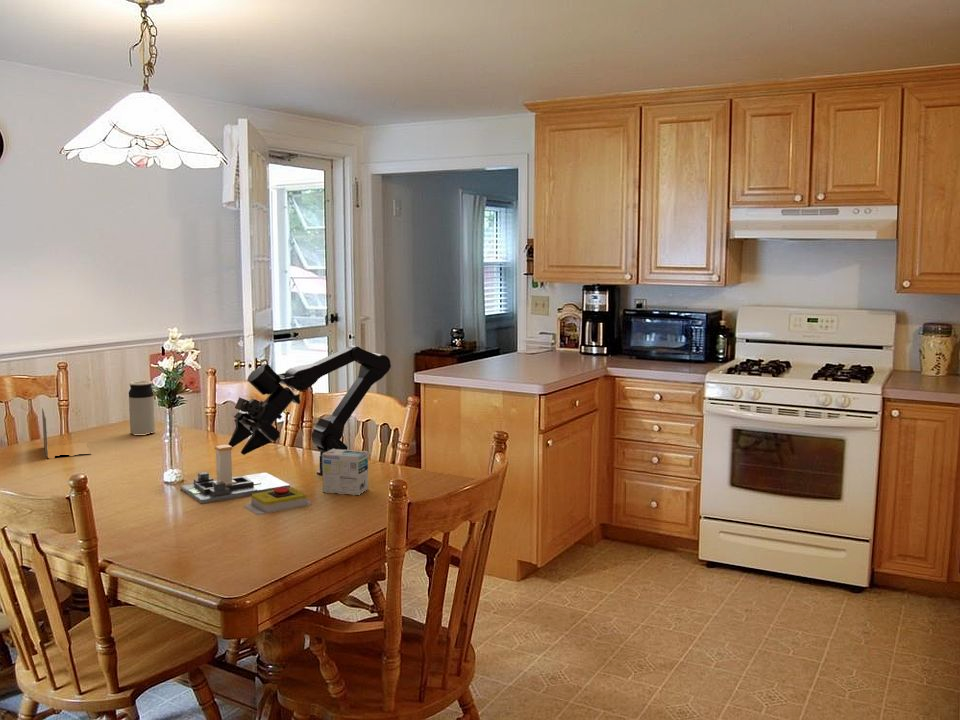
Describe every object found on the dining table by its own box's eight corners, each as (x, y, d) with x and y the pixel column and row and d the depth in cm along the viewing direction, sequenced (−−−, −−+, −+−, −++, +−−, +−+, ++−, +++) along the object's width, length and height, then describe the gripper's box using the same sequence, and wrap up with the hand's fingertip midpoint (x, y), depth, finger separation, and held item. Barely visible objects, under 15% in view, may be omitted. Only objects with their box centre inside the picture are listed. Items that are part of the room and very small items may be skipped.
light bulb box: (369, 489, 227) (369, 450, 226) (359, 496, 221) (359, 456, 220) (332, 486, 230) (332, 447, 229) (321, 493, 224) (321, 453, 222)
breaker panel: (266, 475, 240) (265, 462, 240) (290, 488, 228) (289, 474, 227) (180, 489, 226) (180, 474, 225) (201, 503, 213) (200, 488, 213)
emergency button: (313, 489, 213) (257, 499, 204) (313, 506, 214) (257, 517, 205) (296, 481, 221) (241, 490, 211) (297, 497, 221) (242, 507, 212)
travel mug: (159, 431, 297) (157, 380, 295) (147, 436, 289) (145, 384, 287) (138, 430, 298) (136, 380, 296) (125, 435, 290) (123, 383, 288)
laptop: (91, 455, 263) (89, 414, 261) (46, 460, 257) (44, 417, 255) (86, 444, 278) (84, 405, 277) (43, 448, 272) (41, 408, 271)
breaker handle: (230, 482, 228) (229, 443, 226) (236, 486, 225) (235, 446, 223) (212, 485, 225) (211, 446, 223) (218, 489, 222) (216, 449, 220)
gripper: (240, 382, 234) (201, 425, 229) (268, 391, 219) (227, 438, 214) (267, 407, 240) (230, 450, 234) (296, 418, 225) (257, 464, 220)
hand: (235, 450), depth 225 cm, fingers open, 9 cm apart
